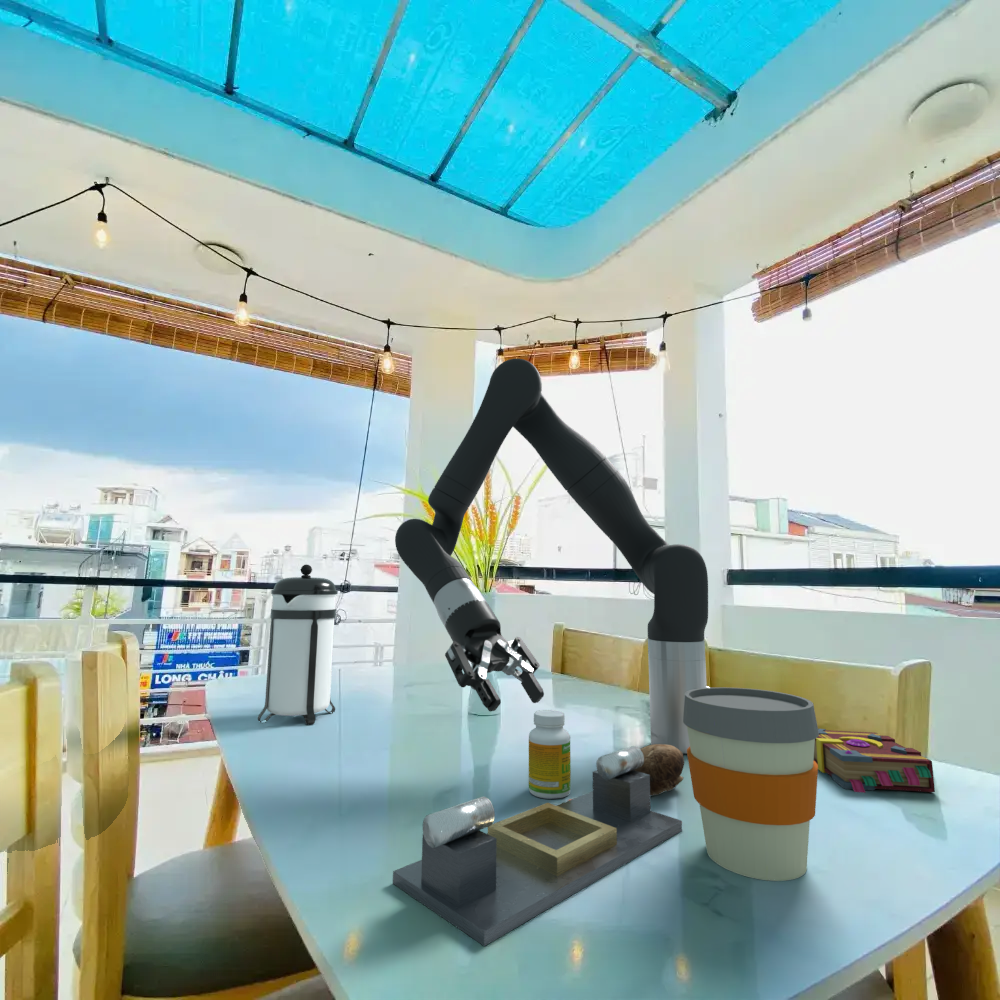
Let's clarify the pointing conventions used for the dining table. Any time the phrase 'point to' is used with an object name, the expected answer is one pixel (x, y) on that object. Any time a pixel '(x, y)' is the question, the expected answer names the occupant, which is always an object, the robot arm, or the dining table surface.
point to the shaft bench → (533, 850)
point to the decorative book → (871, 762)
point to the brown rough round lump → (662, 767)
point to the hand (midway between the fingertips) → (518, 703)
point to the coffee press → (300, 647)
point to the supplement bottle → (549, 756)
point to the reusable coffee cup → (753, 777)
